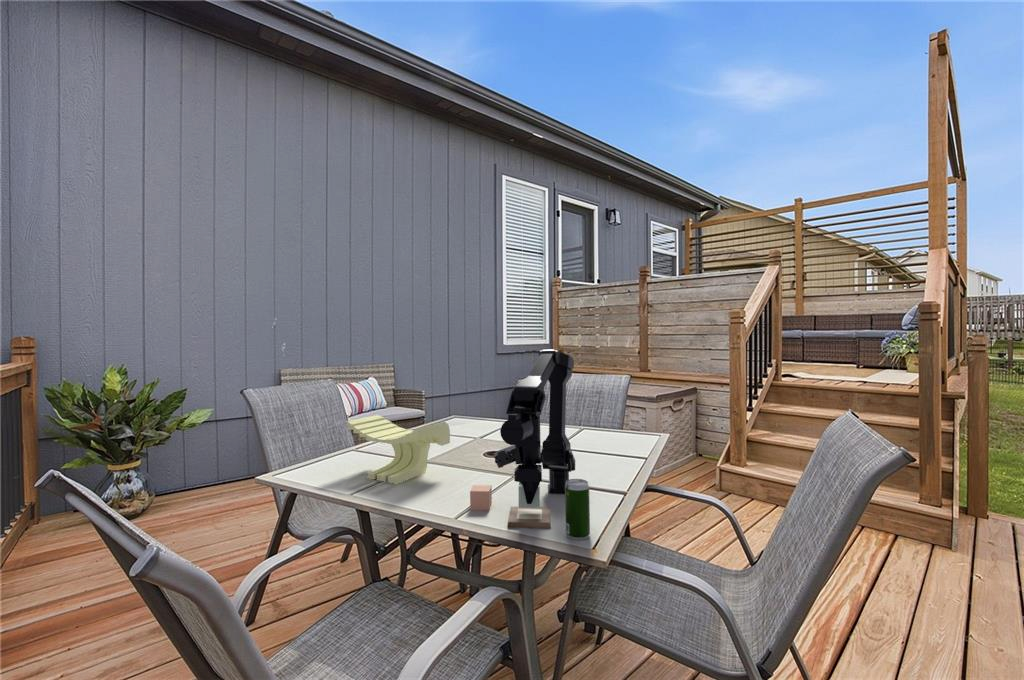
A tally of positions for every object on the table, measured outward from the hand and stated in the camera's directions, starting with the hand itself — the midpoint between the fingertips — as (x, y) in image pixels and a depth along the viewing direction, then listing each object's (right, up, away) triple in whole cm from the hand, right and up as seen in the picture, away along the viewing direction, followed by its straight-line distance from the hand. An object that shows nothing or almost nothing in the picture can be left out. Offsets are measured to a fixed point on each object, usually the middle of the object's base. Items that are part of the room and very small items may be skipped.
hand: (529, 499), depth 112 cm
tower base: (0, -5, 0) cm, 5 cm away
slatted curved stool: (-42, -5, +39) cm, 57 cm away
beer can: (+10, -5, -10) cm, 15 cm away
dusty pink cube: (-12, -5, +9) cm, 16 cm away
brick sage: (0, -1, 0) cm, 1 cm away
